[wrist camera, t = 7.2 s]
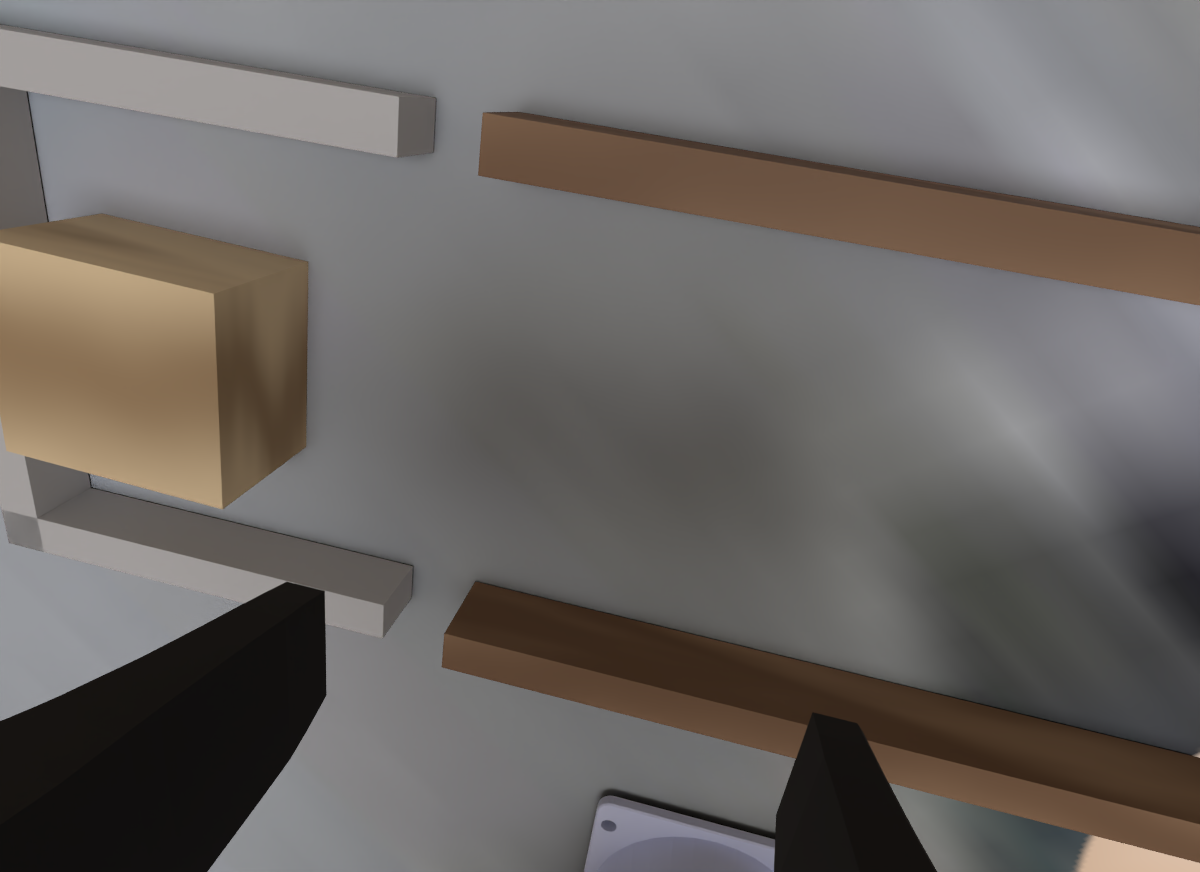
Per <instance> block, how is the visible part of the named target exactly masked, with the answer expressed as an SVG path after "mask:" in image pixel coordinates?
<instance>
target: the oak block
mask: <svg viewBox="0 0 1200 872" xmlns="http://www.w3.org/2000/svg"><path fill="white" fill-rule="evenodd" d="M307 327H308V262H307V261H303V260H299V259H294V258H290V257H286V256H281V255H277V254H273V253H269V252H264V251H260V250H256V249H251V248H247V247H243V246H239V245H234V244H230V243H226V242H221V241H217V240H213V239H208V238H204V237H200V236H196V235H191V234H187V233H183V232H178V231H174V230H170V229H166V228H161V227H157V226H153V225H148V224H144V223H140V222H136V221H131V220H127V219H123V218H118V217H114V216H110V215H106V214H97V215H90V216H84V217H78V218H71V219H65V220H59V221H52V222H46V223H40V224H33V225H27V226H21V227H14V228H8V229H2V230H0V418H1V423H2V429H3V435H4V440H5V446H6V451H8V452H12V453H16V454H19V455H23V456H27V457H30V458H34V459H38V460H41V461H45V462H49V463H53V464H56V465H60V466H64V467H67V468H71V469H75V470H79V471H82V472H86V473H90V474H93V475H97V476H101V477H104V478H108V479H112V480H116V481H119V482H123V483H127V484H130V485H134V486H138V487H142V488H145V489H149V490H153V491H156V492H160V493H164V494H167V495H171V496H175V497H179V498H182V499H186V500H190V501H193V502H197V503H201V504H205V505H208V506H212V507H216V508H219V509H224V508H225V507H226V506H228V505H229V504H230V503H232V502H233V501H234V500H236V499H237V498H238V497H240V496H241V495H242V494H244V493H245V492H246V491H248V490H249V489H250V488H252V487H253V486H254V485H256V484H257V483H258V482H260V481H261V480H262V479H264V478H265V477H266V476H268V475H269V474H270V473H272V472H273V471H274V470H276V469H277V468H278V467H280V466H281V465H282V464H284V463H285V462H286V461H288V460H289V459H290V458H292V457H293V456H294V455H296V454H297V453H298V452H300V451H301V450H302V449H304V448H305V447H306V411H307Z"/></svg>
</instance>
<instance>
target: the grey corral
mask: <svg viewBox="0 0 1200 872" xmlns="http://www.w3.org/2000/svg"><path fill="white" fill-rule="evenodd" d="M26 91H29V92H35V93H40V94H46V95H51V96H57V97H62V98H68V99H74V100H79V101H85V102H90V103H96V104H101V105H107V106H113V107H118V108H124V109H129V110H135V111H140V112H146V113H152V114H157V115H163V116H168V117H174V118H179V119H185V120H191V121H196V122H202V123H207V124H213V125H218V126H224V127H230V128H235V129H241V130H246V131H252V132H257V133H263V134H269V135H274V136H280V137H285V138H291V139H296V140H302V141H307V142H313V143H319V144H324V145H330V146H335V147H341V148H346V149H352V150H358V151H363V152H369V153H374V154H380V155H385V156H391V157H397V158H398V157H405V156H412V155H419V154H427V153H433V149H434V128H435V108H436V98H433V97H427V96H421V95H415V94H409V93H404V92H398V91H392V90H386V89H380V88H374V87H368V86H362V85H356V84H350V83H344V82H338V81H333V80H327V79H321V78H315V77H309V76H303V75H297V74H291V73H285V72H279V71H273V70H268V69H262V68H256V67H250V66H244V65H238V64H232V63H226V62H220V61H214V60H208V59H202V58H197V57H191V56H185V55H179V54H173V53H167V52H161V51H155V50H149V49H143V48H137V47H131V46H126V45H120V44H114V43H108V42H102V41H96V40H90V39H84V38H78V37H72V36H66V35H60V34H55V33H49V32H43V31H37V30H31V29H25V28H19V27H13V26H7V25H1V24H0V230H2V229H8V228H14V227H21V226H27V225H33V224H40V223H46V222H47V215H46V209H45V203H44V197H43V191H42V185H41V178H40V172H39V166H38V160H37V154H36V148H35V141H34V135H33V129H32V123H31V117H30V111H29V105H28V98H27V92H26ZM0 505H1V509H2V514H3V518H4V523H5V527H6V531H7V536H8V540H9V543H11V544H15V545H19V546H23V547H27V548H31V549H34V550H38V551H42V552H46V553H50V554H54V555H58V556H62V557H66V558H70V559H74V560H77V561H81V562H85V563H89V564H93V565H97V566H101V567H105V568H109V569H113V570H116V571H120V572H124V573H128V574H132V575H136V576H140V577H144V578H148V579H152V580H156V581H159V582H163V583H167V584H171V585H175V586H179V587H183V588H187V589H191V590H195V591H199V592H202V593H206V594H210V595H214V596H218V597H222V598H226V599H230V600H234V601H238V602H242V603H246V602H248V601H250V600H252V599H254V598H255V597H257V596H259V595H261V594H263V593H265V592H267V591H269V590H271V589H273V588H275V587H277V586H279V585H281V584H283V583H285V582H291V583H295V584H299V585H303V586H307V587H311V588H315V589H319V590H323V591H325V624H327V625H331V626H335V627H339V628H343V629H347V630H351V631H355V632H359V633H363V634H367V635H370V636H374V637H378V638H382V639H383V637H384V636H385V635H386V633H387V632H388V630H389V629H390V628H391V626H392V625H393V623H394V622H395V620H396V619H397V618H398V616H399V615H400V613H401V612H402V611H403V609H404V608H405V606H406V605H407V603H408V602H409V601H410V599H411V596H412V576H413V566H409V565H405V564H401V563H397V562H393V561H389V560H385V559H381V558H377V557H372V556H368V555H364V554H360V553H356V552H352V551H348V550H344V549H340V548H335V547H331V546H327V545H323V544H319V543H315V542H311V541H307V540H303V539H298V538H294V537H290V536H286V535H282V534H278V533H274V532H270V531H266V530H262V529H257V528H253V527H249V526H245V525H241V524H237V523H233V522H229V521H225V520H220V519H216V518H212V517H208V516H204V515H200V514H196V513H192V512H188V511H183V510H179V509H175V508H171V507H167V506H163V505H159V504H155V503H151V502H146V501H142V500H138V499H134V498H130V497H126V496H122V495H118V494H114V493H109V492H105V491H101V490H97V489H93V488H91V486H90V480H89V474H88V473H86V472H82V471H79V470H75V469H71V468H67V467H64V466H60V465H56V464H53V463H49V462H45V461H41V460H38V459H34V458H30V457H27V456H23V455H19V454H16V453H12V452H8V451H6V446H5V440H4V435H3V429H2V423H1V418H0Z"/></svg>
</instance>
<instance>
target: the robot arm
mask: <svg viewBox="0 0 1200 872" xmlns="http://www.w3.org/2000/svg"><path fill="white" fill-rule="evenodd" d="M325 697H326V639H325V591H323V590H319V589H315V588H311V587H307V586H303V585H299V584H295V583H291V582H285V583H283V584H281V585H279V586H277V587H275V588H273V589H271V590H269V591H267V592H265V593H263V594H261V595H259V596H257V597H255V598H254V599H252V600H250V601H248V602H246V603H244V604H242V605H240V606H238V607H237V608H235V609H233V610H231V611H229V612H227V613H225V614H223V615H222V616H220V617H218V618H216V619H214V620H212V621H210V622H208V623H207V624H205V625H203V626H201V627H199V628H197V629H195V630H193V631H191V632H189V633H187V634H185V635H184V636H182V637H180V638H178V639H176V640H174V641H172V642H170V643H168V644H166V645H164V646H162V647H160V648H158V649H157V650H155V651H153V652H151V653H149V654H147V655H145V656H143V657H141V658H139V659H137V660H135V661H133V662H130V663H128V664H126V665H124V666H122V667H120V668H118V669H116V670H114V671H111V672H109V673H107V674H105V675H103V676H101V677H99V678H97V679H95V680H92V681H90V682H88V683H86V684H84V685H82V686H80V687H78V688H76V689H73V690H71V691H69V692H67V693H65V694H63V695H61V696H59V697H56V698H54V699H52V700H50V701H47V702H45V703H43V704H40V705H38V706H36V707H33V708H31V709H29V710H26V711H24V712H22V713H19V714H17V715H14V716H12V717H10V718H7V719H5V720H2V721H0V872H207V871H208V870H209V869H210V867H211V866H212V865H213V863H214V862H215V861H216V859H217V858H218V856H219V855H220V854H221V852H222V851H223V850H224V848H225V847H226V846H227V844H228V843H229V842H230V840H231V839H232V838H233V836H234V835H235V834H236V832H237V831H238V830H239V828H240V827H241V825H242V824H243V823H244V821H245V820H246V819H247V817H248V816H249V815H250V813H251V812H252V811H253V809H254V808H255V807H256V805H257V804H258V803H259V801H260V800H261V798H262V797H263V796H264V794H265V793H266V792H267V790H268V789H269V787H270V786H271V785H272V783H273V782H274V781H275V779H276V778H277V776H278V775H279V774H280V772H281V771H282V770H283V768H284V767H285V765H286V764H287V763H288V761H289V760H290V758H291V757H292V755H293V753H294V752H295V750H296V748H297V746H298V745H299V743H300V741H301V740H302V738H303V736H304V735H305V733H306V731H307V729H308V728H309V726H310V724H311V722H312V720H313V719H314V717H315V715H316V713H317V711H318V709H319V708H320V706H321V704H322V702H323V700H324V699H325ZM608 820H610V821H608ZM584 872H937V871H936V869H935V867H934V865H933V864H932V862H931V860H930V858H929V857H928V855H927V853H926V851H925V850H924V848H923V846H922V844H921V843H920V841H919V839H918V837H917V835H916V833H915V832H914V830H913V828H912V826H911V824H910V822H909V821H908V819H907V817H906V815H905V813H904V811H903V809H902V807H901V806H900V804H899V802H898V800H897V798H896V796H895V794H894V792H893V790H892V788H891V786H890V784H889V783H888V781H887V779H886V777H885V775H884V773H883V771H882V769H881V767H880V765H879V763H878V761H877V759H876V757H875V755H874V753H873V751H872V749H871V747H870V745H869V743H868V741H867V739H866V737H865V735H864V733H863V731H862V729H861V728H860V726H859V725H858V723H855V722H851V721H847V720H842V719H838V718H834V717H830V716H826V715H822V714H818V713H814V712H812V715H811V718H810V721H809V724H808V726H807V729H806V732H805V735H804V738H803V741H802V743H801V746H800V749H799V752H798V755H797V758H796V760H795V763H794V766H793V769H792V772H791V775H790V777H789V780H788V783H787V786H786V789H785V792H784V794H783V797H782V800H781V803H780V806H779V809H778V811H777V814H776V833H775V839H771V838H768V837H764V836H760V835H757V834H753V833H749V832H745V831H742V830H738V829H734V828H731V827H727V826H723V825H720V824H716V823H712V822H709V821H705V820H701V819H697V818H694V817H690V816H686V815H683V814H679V813H675V812H672V811H668V810H664V809H661V808H657V807H653V806H649V805H646V804H642V803H638V802H635V801H631V800H627V799H624V798H620V797H616V796H605V797H603V798H601V799H600V801H599V802H598V806H597V811H596V815H595V820H594V825H593V830H592V834H591V839H590V844H589V849H588V854H587V858H586V863H585V868H584Z"/></svg>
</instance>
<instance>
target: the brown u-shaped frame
mask: <svg viewBox="0 0 1200 872" xmlns="http://www.w3.org/2000/svg"><path fill="white" fill-rule="evenodd" d="M478 176H484V177H489V178H495V179H501V180H506V181H512V182H517V183H523V184H528V185H534V186H539V187H545V188H551V189H556V190H562V191H567V192H573V193H578V194H584V195H589V196H595V197H601V198H606V199H612V200H617V201H623V202H628V203H634V204H639V205H645V206H651V207H656V208H662V209H667V210H673V211H678V212H684V213H689V214H695V215H701V216H706V217H712V218H717V219H723V220H728V221H734V222H739V223H745V224H751V225H756V226H762V227H767V228H773V229H778V230H784V231H789V232H795V233H801V234H806V235H812V236H817V237H823V238H828V239H834V240H839V241H845V242H851V243H856V244H862V245H867V246H873V247H878V248H884V249H889V250H895V251H901V252H906V253H912V254H917V255H923V256H928V257H934V258H939V259H945V260H951V261H956V262H962V263H967V264H973V265H978V266H984V267H989V268H995V269H1001V270H1006V271H1012V272H1017V273H1023V274H1028V275H1034V276H1039V277H1045V278H1050V279H1056V280H1062V281H1067V282H1073V283H1078V284H1084V285H1089V286H1095V287H1100V288H1106V289H1112V290H1117V291H1123V292H1128V293H1134V294H1139V295H1145V296H1150V297H1156V298H1162V299H1167V300H1173V301H1178V302H1184V303H1189V304H1195V305H1200V227H1196V226H1190V225H1184V224H1178V223H1172V222H1167V221H1161V220H1155V219H1149V218H1143V217H1137V216H1131V215H1125V214H1119V213H1113V212H1107V211H1101V210H1096V209H1090V208H1084V207H1078V206H1072V205H1066V204H1060V203H1054V202H1048V201H1042V200H1036V199H1031V198H1025V197H1019V196H1013V195H1007V194H1001V193H995V192H989V191H983V190H977V189H971V188H965V187H960V186H954V185H948V184H942V183H936V182H930V181H924V180H918V179H912V178H906V177H900V176H894V175H889V174H883V173H877V172H871V171H865V170H859V169H853V168H847V167H841V166H835V165H829V164H823V163H818V162H812V161H806V160H800V159H794V158H788V157H782V156H776V155H770V154H764V153H758V152H753V151H747V150H741V149H735V148H729V147H723V146H717V145H711V144H705V143H699V142H693V141H687V140H682V139H676V138H670V137H664V136H658V135H652V134H646V133H640V132H634V131H628V130H622V129H616V128H611V127H605V126H599V125H593V124H587V123H581V122H575V121H569V120H563V119H557V118H551V117H546V116H540V115H534V114H528V113H522V112H487V113H483V117H482V131H481V144H480V158H479V172H478ZM442 667H443V668H447V669H451V670H455V671H458V672H462V673H466V674H470V675H474V676H478V677H482V678H486V679H489V680H493V681H497V682H501V683H505V684H509V685H513V686H517V687H520V688H524V689H528V690H532V691H536V692H540V693H544V694H548V695H551V696H555V697H559V698H563V699H567V700H571V701H575V702H579V703H582V704H586V705H590V706H594V707H598V708H602V709H606V710H610V711H613V712H617V713H621V714H625V715H629V716H633V717H637V718H641V719H644V720H648V721H652V722H656V723H660V724H664V725H668V726H672V727H675V728H679V729H683V730H687V731H691V732H695V733H699V734H703V735H706V736H710V737H714V738H718V739H722V740H726V741H730V742H734V743H737V744H741V745H745V746H749V747H753V748H757V749H761V750H765V751H768V752H772V753H776V754H780V755H784V756H788V757H792V758H797V755H798V752H799V749H800V746H801V743H802V741H803V738H804V735H805V732H806V729H807V726H808V724H809V721H810V718H811V715H812V712H814V713H818V714H822V715H826V716H830V717H834V718H838V719H842V720H847V721H851V722H855V723H858V725H859V726H860V728H861V729H862V731H863V733H864V735H865V737H866V739H867V741H868V743H869V745H870V747H871V749H872V751H873V753H874V755H875V757H876V759H877V761H878V763H879V765H880V767H881V769H882V771H883V773H884V775H885V777H886V779H887V781H888V782H889V783H892V784H896V785H900V786H904V787H908V788H912V789H916V790H920V791H923V792H927V793H931V794H935V795H939V796H943V797H947V798H951V799H954V800H958V801H962V802H966V803H970V804H974V805H978V806H982V807H985V808H989V809H993V810H997V811H1001V812H1005V813H1009V814H1013V815H1016V816H1020V817H1024V818H1028V819H1032V820H1036V821H1040V822H1044V823H1047V824H1051V825H1055V826H1059V827H1063V828H1067V829H1071V830H1075V831H1078V832H1082V833H1086V834H1090V835H1094V836H1098V837H1102V838H1106V839H1109V840H1114V841H1117V842H1121V843H1125V844H1129V845H1133V846H1137V847H1140V848H1145V849H1148V850H1152V851H1156V852H1160V853H1164V854H1168V855H1172V856H1176V857H1179V858H1184V859H1187V860H1191V861H1195V862H1199V863H1200V758H1198V757H1194V756H1190V755H1186V754H1182V753H1178V752H1174V751H1170V750H1165V749H1161V748H1157V747H1153V746H1149V745H1145V744H1141V743H1137V742H1133V741H1128V740H1124V739H1120V738H1116V737H1112V736H1108V735H1104V734H1100V733H1096V732H1091V731H1087V730H1083V729H1079V728H1075V727H1071V726H1067V725H1063V724H1059V723H1055V722H1050V721H1046V720H1042V719H1038V718H1034V717H1030V716H1026V715H1022V714H1018V713H1013V712H1009V711H1005V710H1001V709H997V708H993V707H989V706H985V705H981V704H976V703H972V702H968V701H964V700H960V699H956V698H952V697H948V696H944V695H939V694H935V693H931V692H927V691H923V690H919V689H915V688H911V687H907V686H902V685H898V684H894V683H890V682H886V681H882V680H878V679H874V678H870V677H866V676H861V675H857V674H853V673H849V672H845V671H841V670H837V669H833V668H829V667H824V666H820V665H816V664H812V663H808V662H804V661H800V660H796V659H792V658H787V657H783V656H779V655H775V654H771V653H767V652H763V651H759V650H755V649H750V648H746V647H742V646H738V645H734V644H730V643H726V642H722V641H718V640H713V639H709V638H705V637H701V636H697V635H693V634H689V633H685V632H681V631H677V630H672V629H668V628H664V627H660V626H656V625H652V624H648V623H644V622H640V621H635V620H631V619H627V618H623V617H619V616H615V615H611V614H607V613H603V612H598V611H594V610H590V609H586V608H582V607H578V606H574V605H570V604H566V603H561V602H557V601H553V600H549V599H545V598H541V597H537V596H533V595H529V594H524V593H520V592H516V591H512V590H508V589H504V588H500V587H496V586H492V585H487V584H483V583H479V582H475V583H474V585H473V586H472V588H471V590H470V591H469V593H468V595H467V596H466V598H465V600H464V601H463V603H462V605H461V606H460V608H459V610H458V611H457V613H456V615H455V616H454V618H453V620H452V621H451V623H450V625H449V627H448V628H447V630H446V632H445V633H444V645H443V658H442Z"/></svg>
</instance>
